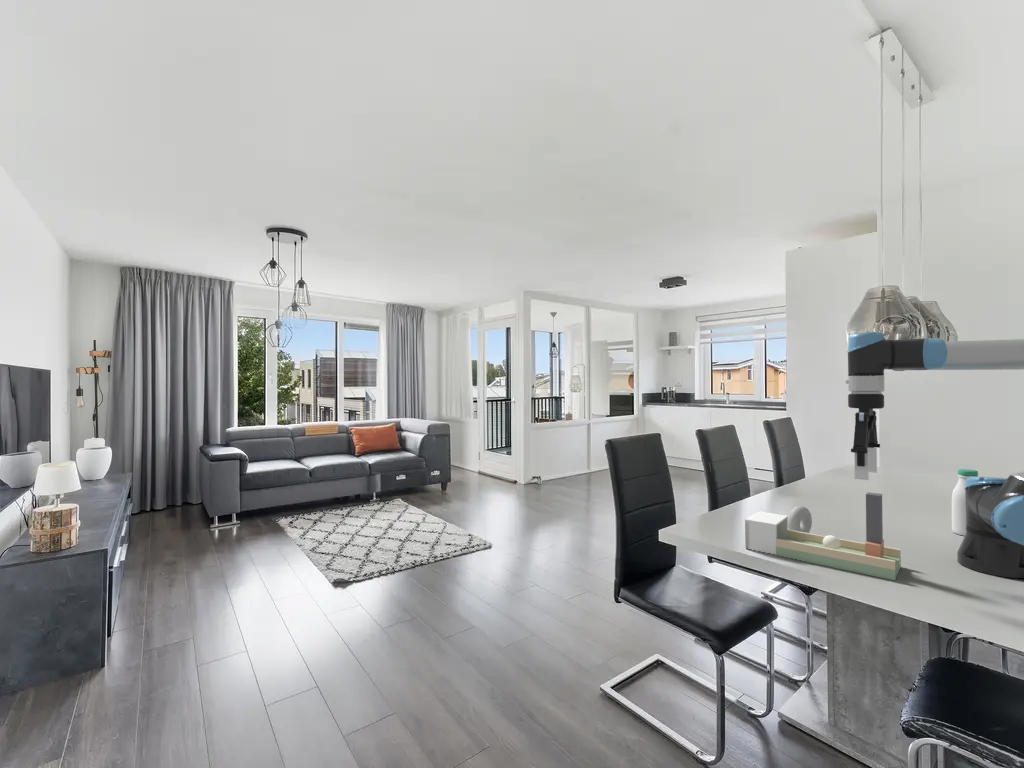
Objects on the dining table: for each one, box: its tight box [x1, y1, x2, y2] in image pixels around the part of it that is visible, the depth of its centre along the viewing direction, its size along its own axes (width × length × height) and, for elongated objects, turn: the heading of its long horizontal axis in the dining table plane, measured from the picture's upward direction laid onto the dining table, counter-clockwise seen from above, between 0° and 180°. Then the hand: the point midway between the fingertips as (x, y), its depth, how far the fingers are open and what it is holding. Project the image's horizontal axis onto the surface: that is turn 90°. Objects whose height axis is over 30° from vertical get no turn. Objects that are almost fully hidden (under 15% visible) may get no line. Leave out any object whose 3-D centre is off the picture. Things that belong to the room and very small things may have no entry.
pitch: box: [744, 510, 902, 581], centre depth 133 cm, size 34×12×8 cm, turn 46°
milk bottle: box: [951, 468, 979, 537], centre depth 152 cm, size 8×8×20 cm
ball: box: [823, 535, 841, 550], centre depth 131 cm, size 4×4×4 cm
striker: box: [864, 491, 885, 558], centre depth 125 cm, size 3×7×16 cm, turn 136°
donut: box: [788, 505, 813, 533], centre depth 150 cm, size 10×4×10 cm, turn 122°
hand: (866, 475), depth 126 cm, fingers open, 13 cm apart
